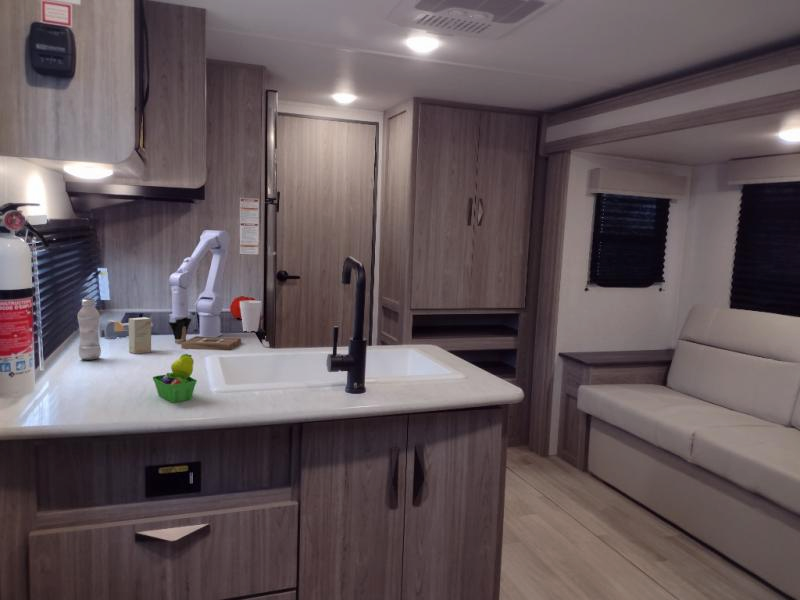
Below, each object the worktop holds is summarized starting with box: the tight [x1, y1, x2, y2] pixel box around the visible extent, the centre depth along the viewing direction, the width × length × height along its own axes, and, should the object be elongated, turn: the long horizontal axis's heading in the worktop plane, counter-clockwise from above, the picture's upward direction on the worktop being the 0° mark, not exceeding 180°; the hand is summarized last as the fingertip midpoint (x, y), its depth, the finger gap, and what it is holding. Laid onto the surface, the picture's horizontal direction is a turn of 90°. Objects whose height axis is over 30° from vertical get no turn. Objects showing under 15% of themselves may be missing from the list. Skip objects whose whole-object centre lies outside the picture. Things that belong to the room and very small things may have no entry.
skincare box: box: [128, 316, 152, 355], centre depth 200 cm, size 6×4×12 cm
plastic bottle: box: [76, 298, 102, 361], centre depth 186 cm, size 6×7×20 cm
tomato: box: [229, 295, 257, 320], centre depth 282 cm, size 13×14×12 cm
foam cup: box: [240, 300, 263, 333], centre depth 250 cm, size 10×9×13 cm
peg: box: [174, 326, 187, 344], centre depth 220 cm, size 4×4×6 cm
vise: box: [98, 319, 154, 340], centre depth 230 cm, size 18×10×7 cm, turn 140°
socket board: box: [180, 335, 242, 351], centre depth 216 cm, size 14×18×2 cm
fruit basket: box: [152, 353, 197, 403], centre depth 149 cm, size 11×9×11 cm
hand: (180, 338), depth 220 cm, fingers closed on peg, 4 cm apart
